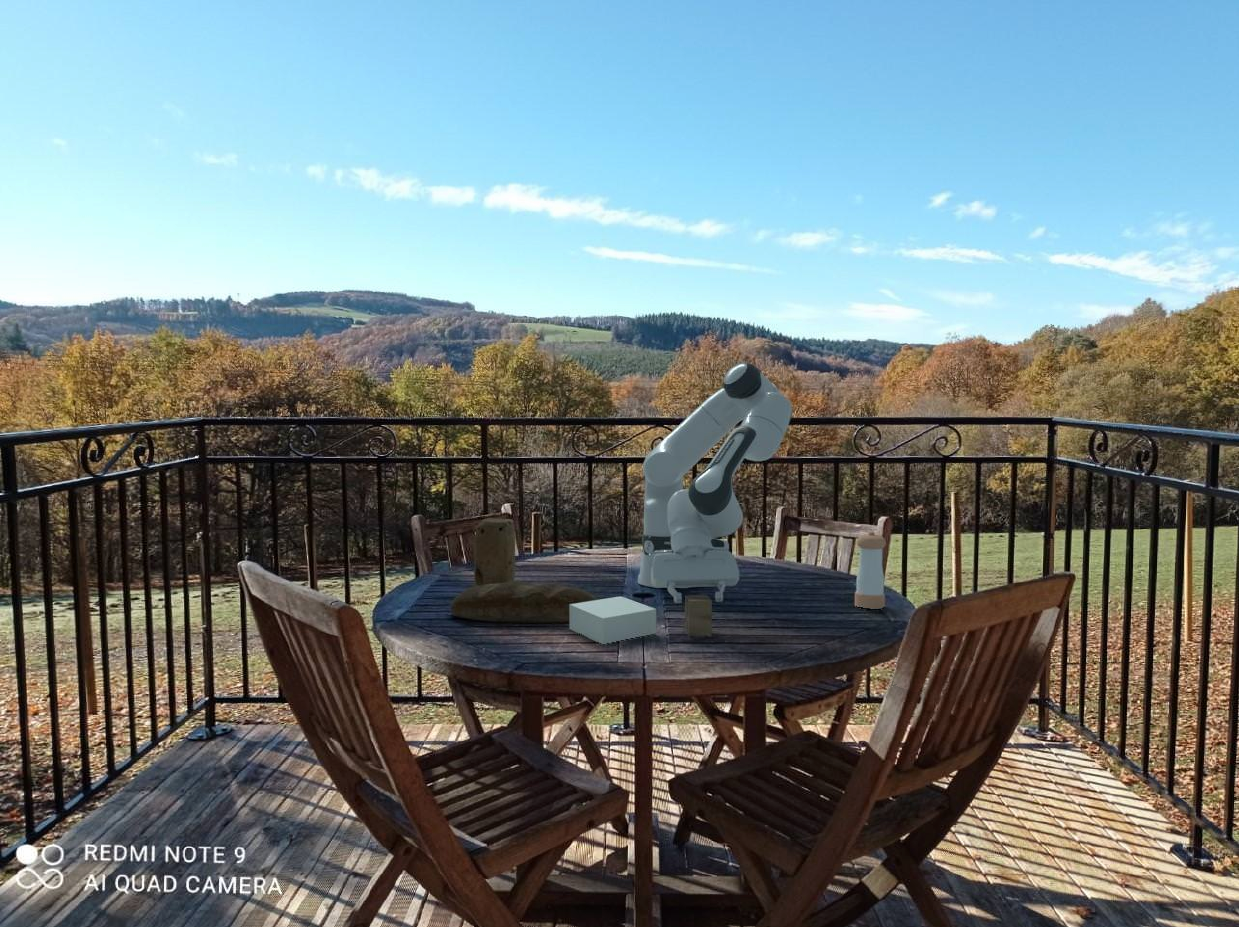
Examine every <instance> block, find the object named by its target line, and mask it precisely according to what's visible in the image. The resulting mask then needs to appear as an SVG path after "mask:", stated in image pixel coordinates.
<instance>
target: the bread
mask: <svg viewBox="0 0 1239 927" xmlns="http://www.w3.org/2000/svg"><path fill="white" fill-rule="evenodd" d="M594 600H599V599H598V598H597V597H596V596H595V595H593V594H592V593H591V592H588V591H586V590H584V589H581V588H577V587H572V586H568V585H565V584H561V583H555V582H546V583H545V582H544V583H539V582H533V581H532V582H531V581H523V580H522V581H519V580H517V581H515V580H514V581H509V582H504V583H494V584H484V585H479V586H474V585H473V586H471V587H468V588H466V589H465V590H464V591H462V592H461V593H458V594H457V595H456V597H454V598H453V599H452V601H451V603H450V608H449V609H450V613H451V615H452V616H454V617H457V618H460V619H467V620H472V621H473V620H474V621H479V622H492V623H513V624H514V623H517V624H519V623H528V624H536V623H537V624H550V623H551V624H554V623H569V604H575V603H582V602H588V601H594Z"/></svg>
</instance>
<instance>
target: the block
mask: <svg viewBox="0 0 1239 927" xmlns="http://www.w3.org/2000/svg"><path fill="white" fill-rule="evenodd" d="M514 523H515V522H514V520H513V519H512V518H500V517H493V518H490V517H488V518H487V517H486V518H484V519H482V520H481V521H480V522H479V523H478V524H477V527H476V530H475V534H474V541H473V542H474V543H473V544H474V545H473V562H474V565H473V568H474V569H473V570H474V571H473V587H474V586H479V585H484V584H494V583H504V582H509V581H515V576H516V535H515V524H514Z"/></svg>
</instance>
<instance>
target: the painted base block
mask: <svg viewBox="0 0 1239 927" xmlns="http://www.w3.org/2000/svg"><path fill="white" fill-rule="evenodd" d="M568 623H569V626H568V627H569V628H568V629H569V630H571V631H573V632H574V633H576V634H579V633H580V634H579V635H581V634H582V635H581V636H583V635H584V636H583V637H585V636H586V637H585V638H587V637H588V639H590V640H592V641H595V642H596V643H598V642H599V644H600V643H601V644H600V645H602V644H604V645H608V644H607V643H609V644H613V643H612V642H614V643H617V642H616V641H619V642H621V641H620V640H624V641H626V640H625V639H629V640H631V639H630V638H634V639H636V638H635V637H639V636H644V635H649V634H653V633H656V634H657V609H656V608H655V607H652V606H650V605H649V606H648V605H646V604H643V603H640V602H637V601H635V600H632V599H630V598H626V597H624V596H622V595H621V596H615V597H608V598H601V599H598V600H594V601H588V602H582V603H575V604H569V622H568Z"/></svg>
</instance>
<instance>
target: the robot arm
mask: <svg viewBox="0 0 1239 927" xmlns="http://www.w3.org/2000/svg"><path fill="white" fill-rule="evenodd" d="M723 377H724V378H723V381H722V388H720V389H719V390H717V391H716V392H714V393H713V394H712V395H710V396H709V397H708V398H707V399H705V400H704V401H703V402H702V403H701V404H700V405H698V407H697V408H695V409H694V411H693V412H691V413H690V414H689V415H688V416H687V417H686V418H685V419H684V420H682V422H680V424H679V425H677V426H676V427H675V428H674V429H673V430H672V431H671V432H670V433H669V434H668V435H667V436H666V437H665V438H664V439H663V440H661V442H660V443H659V444H657V445H656V446H655V447H654V448H653V449H652V450H651V451H650V452H649V453H648V454H647V455H646V457H645V458H644V461H643V463H642V470H643V471H642V472H643V474H644V501H643V502H644V503H643V533H642V534H641V536H642V537H641V545H642V549H643V550H642V552H641V559H640V567H639V573H638V575H637V583H638V584H639V585H640V586H641V585H642V586H645V587H650V588H655V589H663V588H665V589H667V592H668V593H669V594H670V595H671V596H672V597H673V602H674V604H681V603H682V601H683V597H682V593H681V592H678V591H677V590H676V589H677V588H678V589H688V588H697V587H698V588H700V587H702V588H703V587H705V588H707V587H708V588H709V587H717V589H718V590H719V591H715V594H714V599H715V602H716V603H717V602H718V603H720V602H723V600H724V595H723V593H724V591H725V589H726V588H725V587H735V586H736V585H737V584H738V582H739V580H740V571H739V566H738V563H737V561H736V558H735V556H734V555H733V553H732V552H731V551H729V549H730V544H729V542H728V541H727V540H723V539H719V538H722V537H728V536H730V535H733V534H735V533H736V532H737V531H738V530H739V529H740V527H741V526H742V525H743V522H744V512H743V511H742V508H741V505H740V504H739V500H737V496H736V495H735V493H734V488H733V477H734V475H735V473H736V472H737V471H738V469H739V467H740V465H742V463H743V461H744V460H745V459H746V460H749V461H753V462H763V461H767V460H769V459H771V458H772V457H773V456H774V455H775V453H776V452H777V451H778V449H779V447H780V446H781V443H782V441H783V439H784V437H785V435H786V432H787V430H788V427H789V425H790V421H791V418H792V416H793V409H792V408H793V407H792V403H791V401H790V400H789V399H788V397H786V396H785V395H784V394H782V392H781V391H780V390H779V389H778V388H777V386H776V385H775V384H774V383H773V382H771V380H770V379H768V378H767V376H765V375H764V374H763V373H762V372H761V370H760V369H759V367H757V366H755V365H754V364H752V363H751V362H747V361H745V362H739V363H738V364H735V365H734V366H732V367H731V368H730V369H729V370H728V371H727V372H726V373H725V375H724V376H723ZM741 421H742V422H741ZM740 422H741V424H739V423H740ZM737 424H739V425H740V426H739V427H736V425H737ZM735 427H736V428H735ZM734 428H735V429H734ZM732 429H733V430H732ZM730 431H731V432H730ZM728 433H729V435H728ZM726 435H728V436H727V437H726V438H725V440H724V442H723V443H722V445H721V446H720V447H719V449H718V450H717V451H716V453H715V455H714V456H713V458H712V459H711V460H710V462H709V463H708V464H707V466H706V467H705V468H704V469H703V470H702V471H701V472H700V473H698V474H697V476H696V477H694V479H693V480H692V481H691V483H690V485H689V488H686V489H685V488H684V476H685V475H686V474H688V472H689V471H690V470H691V469H692V468H693V467H694V466H695V465H696V464H697V463H698V462H699V461H700V460H701V459H702V458H703V457H704V456H705V455H706V454H707V453H708V452H709V451H711V449H713V447H714V446H716V445H717V444H718V443H719V442H720V441H721V440H723V438H724V437H725V436H726Z"/></svg>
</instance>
